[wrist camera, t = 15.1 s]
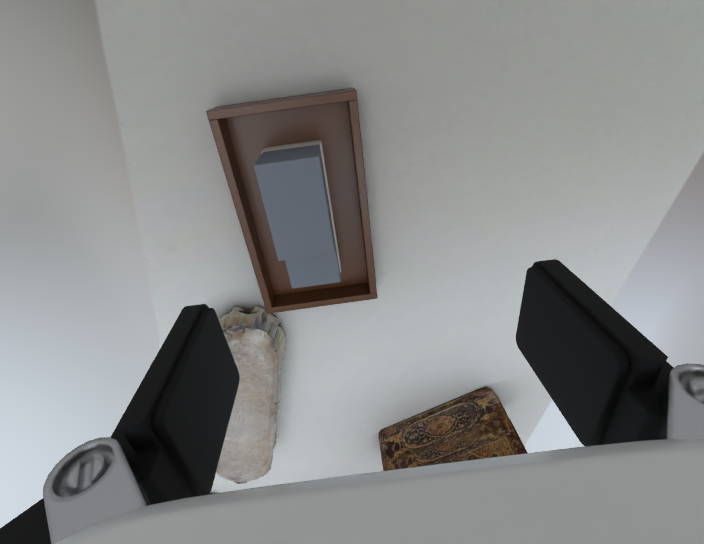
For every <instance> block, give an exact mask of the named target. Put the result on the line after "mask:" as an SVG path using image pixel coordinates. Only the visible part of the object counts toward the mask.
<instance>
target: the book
mask: <svg viewBox="0 0 704 544" xmlns="http://www.w3.org/2000/svg"><path fill="white" fill-rule="evenodd" d="M379 443H380V450H381V457H382V464H383V471H389V470H397V469H405V468H413V467H421V466H429V465H437V464H445V463H453V462H461V461H469V460H477V459H485V458H493V457H502V456H510V455H518V454H527V451H526V449H525V447H524V445H523V443H522V441H521V439H520V438H519V436H518V434H517V432H516V430H515V428H514V426H513V424H512V422H511V420H510V419H509V417H508V415H507V413H506V411H505V409H504V408H503V406H502V404H501V402H500V400H499V398H498V396H497V395H496V394H495V392H494V391H493V390H492V389H490V388H483V389H481V390H478V391H475V392H472V393H470V394H467V395H464V396H462V397H459V398H457V399H455V400H452V401H450V402H447V403H445V404H443V405H440V406H438V407H436V408H433V409H431V410H428V411H426V412H424V413H421V414H419V415H416V416H414V417H412V418H409V419H407V420H405V421H402V422H400V423H397V424H395V425H393V426H390V427H388V428H385V429H383V430H381V431H380V432H379Z"/></svg>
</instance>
